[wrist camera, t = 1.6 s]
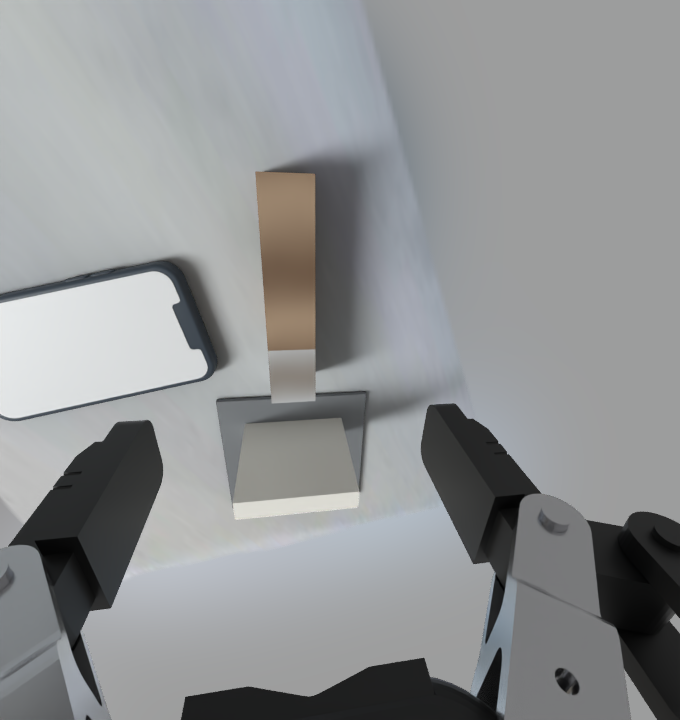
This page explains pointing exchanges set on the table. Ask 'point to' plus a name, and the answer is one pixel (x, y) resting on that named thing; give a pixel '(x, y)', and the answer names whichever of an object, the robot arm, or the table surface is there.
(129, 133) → the table surface
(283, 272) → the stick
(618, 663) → the robot arm
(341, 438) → the tile
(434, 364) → the table surface
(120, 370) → the phone case
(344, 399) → the mat
